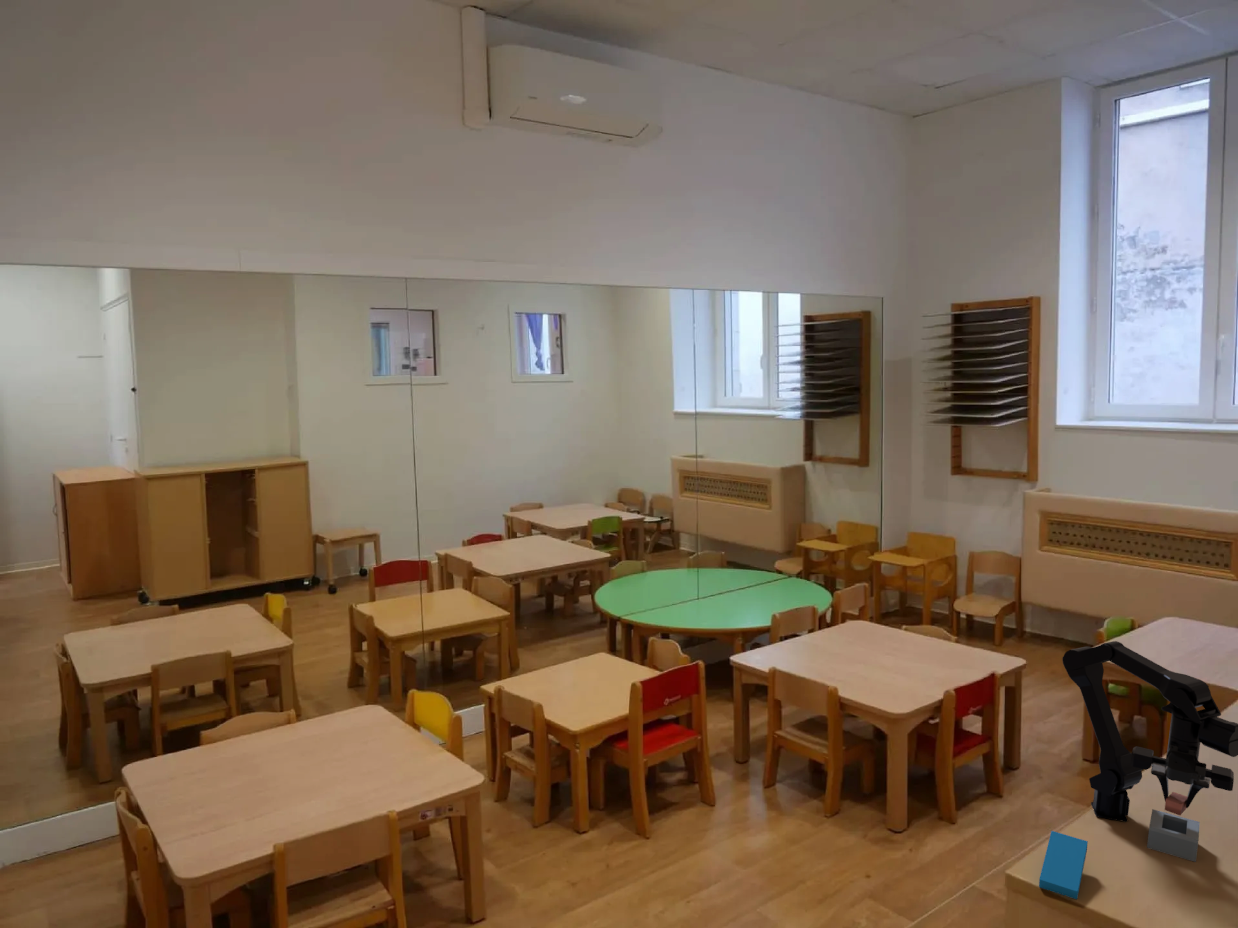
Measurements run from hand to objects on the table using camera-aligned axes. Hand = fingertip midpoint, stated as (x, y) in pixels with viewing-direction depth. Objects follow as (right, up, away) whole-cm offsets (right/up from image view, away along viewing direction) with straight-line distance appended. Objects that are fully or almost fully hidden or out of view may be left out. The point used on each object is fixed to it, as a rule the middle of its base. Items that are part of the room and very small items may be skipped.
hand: (1176, 804), depth 194 cm
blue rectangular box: (-30, -11, -10) cm, 33 cm away
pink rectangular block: (0, -1, 0) cm, 1 cm away
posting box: (0, -10, +1) cm, 10 cm away
